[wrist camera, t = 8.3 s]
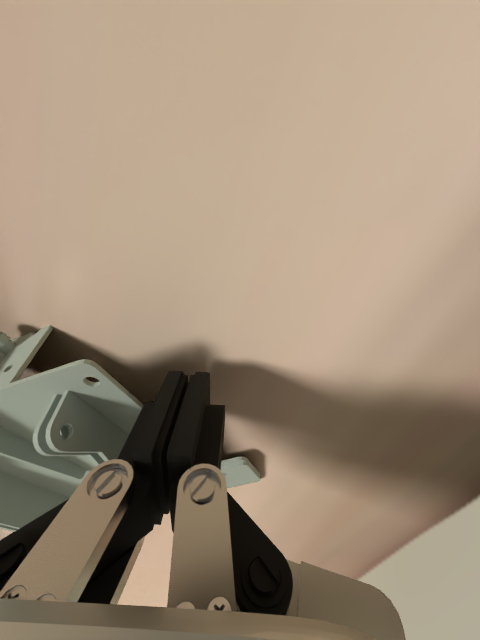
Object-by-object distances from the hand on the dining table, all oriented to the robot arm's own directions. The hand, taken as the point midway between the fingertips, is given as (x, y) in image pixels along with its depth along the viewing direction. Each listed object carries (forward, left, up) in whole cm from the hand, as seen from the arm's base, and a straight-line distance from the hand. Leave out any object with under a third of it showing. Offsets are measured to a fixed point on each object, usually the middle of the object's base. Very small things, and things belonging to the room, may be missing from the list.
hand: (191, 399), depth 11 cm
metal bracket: (+4, -6, -2) cm, 7 cm away
